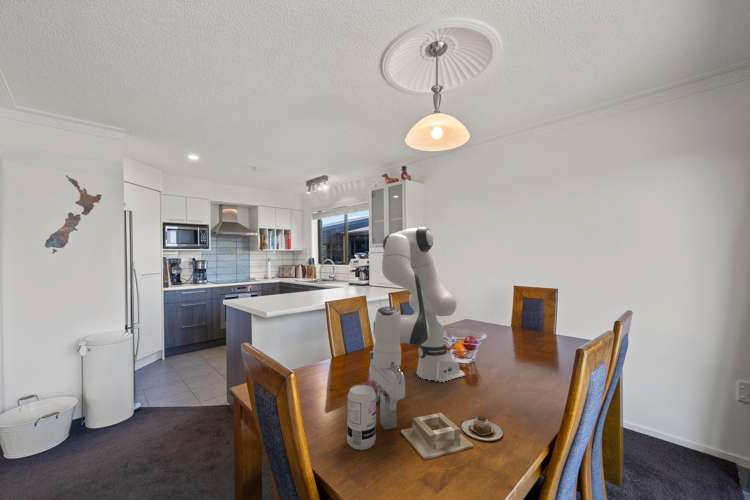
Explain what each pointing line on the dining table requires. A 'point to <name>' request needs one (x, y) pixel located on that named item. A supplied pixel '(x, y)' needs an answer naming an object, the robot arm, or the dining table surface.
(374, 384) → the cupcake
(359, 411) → the supplement can
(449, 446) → the well
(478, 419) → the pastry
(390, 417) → the grey long block
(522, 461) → the dining table surface
